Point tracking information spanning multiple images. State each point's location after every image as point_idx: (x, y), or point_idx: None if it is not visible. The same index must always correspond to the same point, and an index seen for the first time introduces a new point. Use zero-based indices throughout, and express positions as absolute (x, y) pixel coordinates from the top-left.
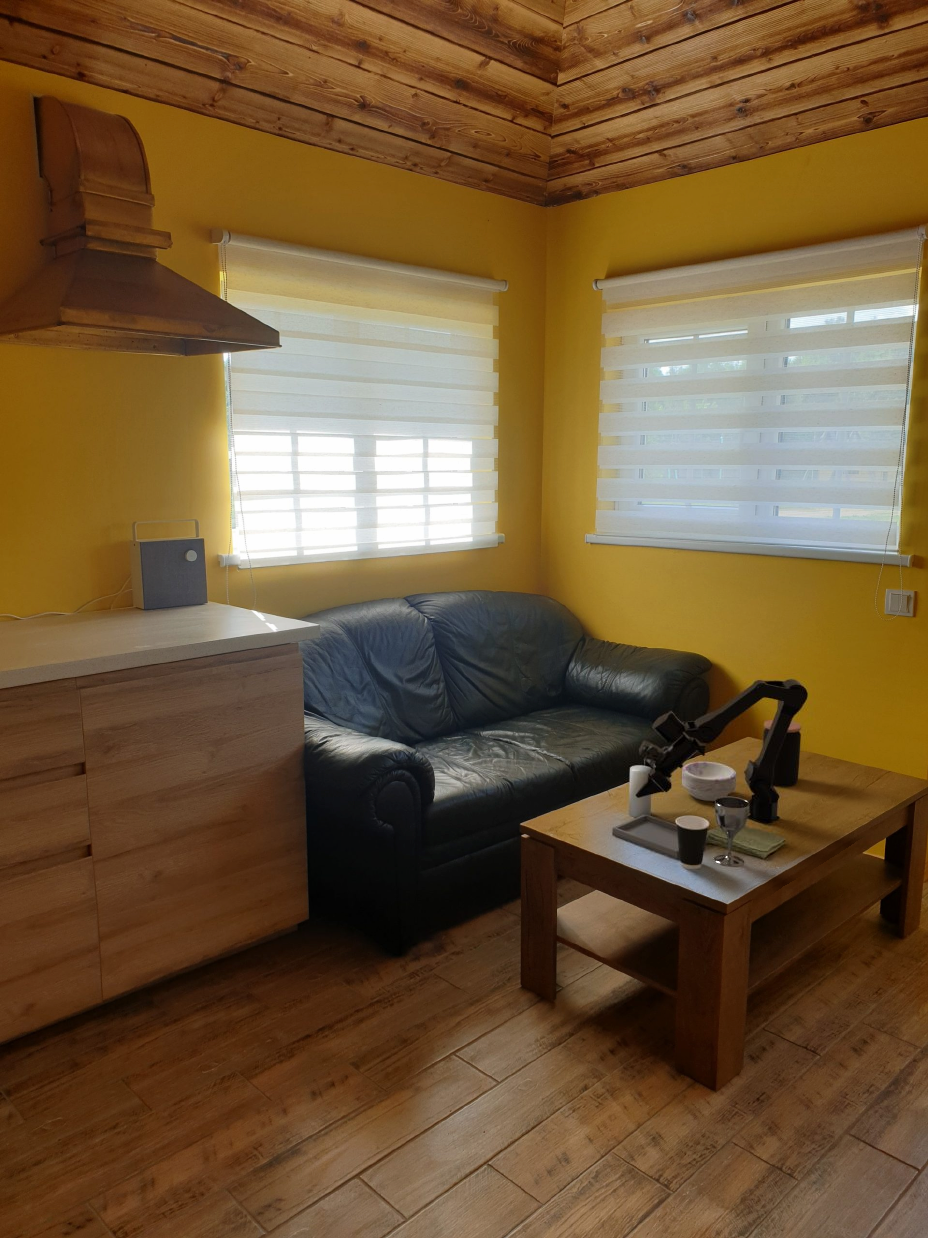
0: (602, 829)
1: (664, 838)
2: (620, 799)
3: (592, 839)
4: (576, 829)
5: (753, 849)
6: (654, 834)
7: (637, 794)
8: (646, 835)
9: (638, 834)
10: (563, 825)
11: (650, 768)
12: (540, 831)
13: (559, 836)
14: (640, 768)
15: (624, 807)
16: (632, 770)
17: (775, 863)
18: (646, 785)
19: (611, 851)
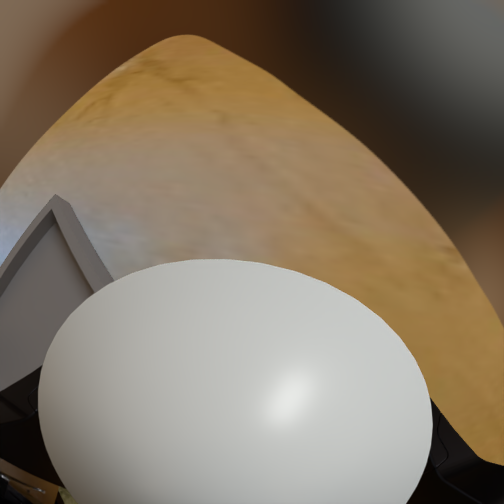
0: (112, 175)
1: (25, 359)
2: (418, 288)
3: (65, 150)
4: (131, 108)
5: None
6: (42, 340)
7: None
8: (37, 310)
9: (43, 285)
10: (166, 79)
11: None
12: (145, 50)
13: (106, 82)
14: (248, 484)
15: None
16: (124, 292)
17: None
18: (24, 384)
19: (10, 197)
